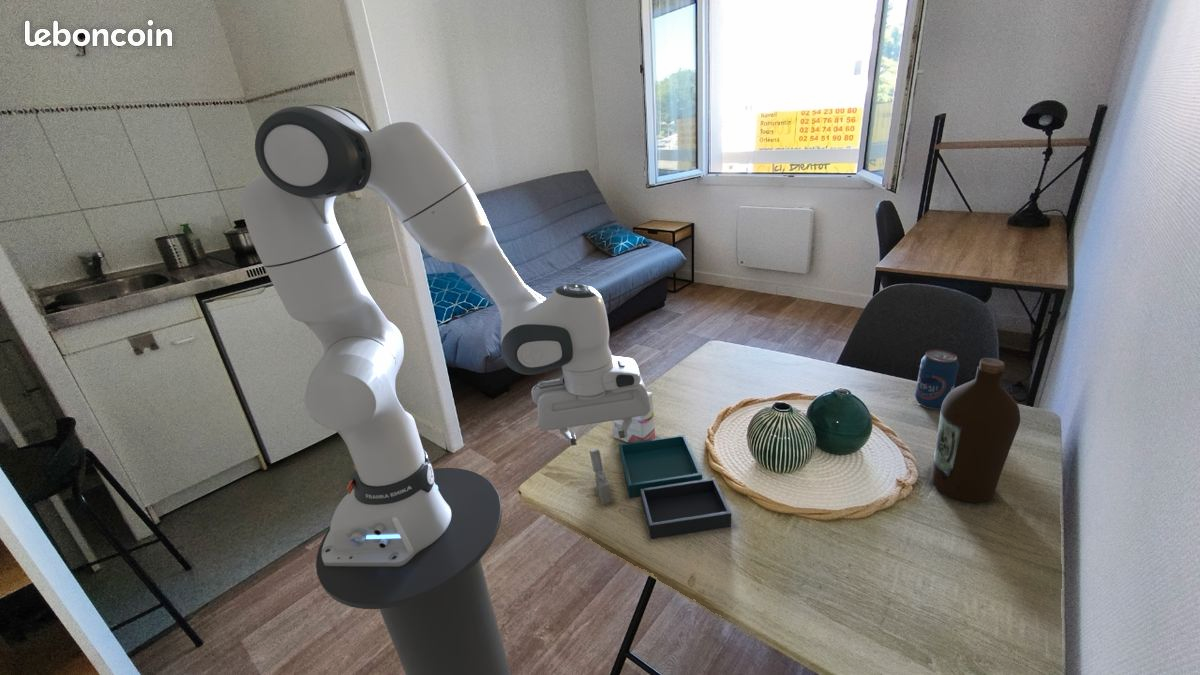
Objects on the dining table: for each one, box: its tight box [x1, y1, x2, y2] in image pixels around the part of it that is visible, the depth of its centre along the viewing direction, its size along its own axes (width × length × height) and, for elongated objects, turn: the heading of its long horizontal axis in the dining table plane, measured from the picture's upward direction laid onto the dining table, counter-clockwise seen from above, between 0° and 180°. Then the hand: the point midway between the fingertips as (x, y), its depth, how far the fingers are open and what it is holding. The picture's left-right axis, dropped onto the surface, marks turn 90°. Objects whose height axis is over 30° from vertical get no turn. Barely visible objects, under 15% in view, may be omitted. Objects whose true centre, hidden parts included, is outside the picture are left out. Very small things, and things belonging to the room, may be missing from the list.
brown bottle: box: [930, 357, 1021, 504], centre depth 85 cm, size 11×11×25 cm
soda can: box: [914, 349, 960, 410], centre depth 111 cm, size 7×7×12 cm
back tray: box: [618, 434, 703, 499], centre depth 101 cm, size 14×13×3 cm
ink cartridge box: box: [611, 391, 656, 443], centre depth 110 cm, size 9×5×15 cm, turn 50°
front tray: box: [640, 477, 732, 540], centre depth 90 cm, size 14×9×3 cm, turn 96°
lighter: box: [589, 448, 612, 505], centre depth 96 cm, size 7×2×8 cm, turn 15°
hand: (597, 439), depth 93 cm, fingers open, 8 cm apart
